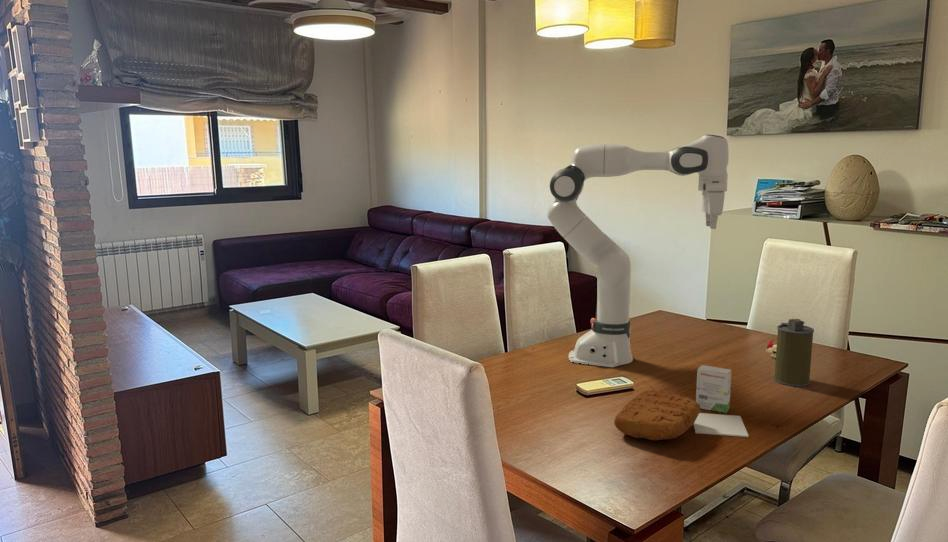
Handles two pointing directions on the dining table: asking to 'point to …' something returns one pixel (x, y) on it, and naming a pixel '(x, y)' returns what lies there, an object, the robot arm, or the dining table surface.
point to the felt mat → (720, 425)
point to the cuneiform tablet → (657, 415)
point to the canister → (793, 353)
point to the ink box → (713, 388)
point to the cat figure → (772, 350)
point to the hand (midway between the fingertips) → (710, 227)
